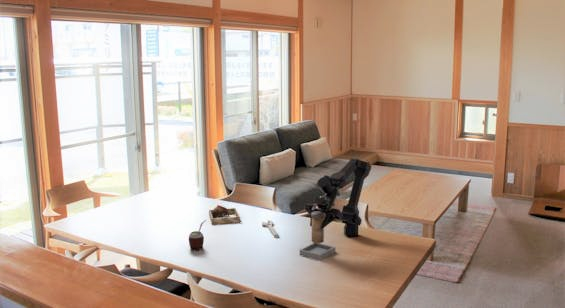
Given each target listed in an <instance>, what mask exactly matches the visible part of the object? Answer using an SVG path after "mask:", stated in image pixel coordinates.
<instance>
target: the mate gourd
mask: <svg viewBox="0 0 565 308" xmlns="http://www.w3.org/2000/svg"><path fill="white" fill-rule="evenodd" d="M206 221H207V219H205V220H204V221H202V222H201V223H200V226H199V230H198V231H197V230H196V231H191V232H190V233H189V235H188V243H189V247H190V248H189V249H190V251H194V250H196V251H197V252H199V251H200V250H201V249H204V247H203V246H204V241H205V240H204V237H205V236H204V234H203V232H201V229H202V227H203V224H204V223H205V222H206Z"/></svg>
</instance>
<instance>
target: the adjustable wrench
mask: <svg viewBox="0 0 565 308" xmlns="http://www.w3.org/2000/svg"><path fill="white" fill-rule="evenodd" d="M261 226H262V227H265V228H267V229H268V230H269V232H270V233H271V235H272V236H274V237H273V238H275V239H278V238H279V237H280V234H279V233H278V232H277V231H276V229H275V228H274V221H273V220H267V222H265V221H262V222H261Z"/></svg>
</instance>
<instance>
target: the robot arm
mask: <svg viewBox="0 0 565 308" xmlns="http://www.w3.org/2000/svg"><path fill="white" fill-rule="evenodd" d="M371 171H372V164H370V162H369V161H364V160H361V159H359V158H353V157H352V158H349V160H348V162H347V163H346V164H345V165H344V166H343V168H341V170H339V171H337V172H334V173H332V174H331V175H330V176H329V175H325V174H324V176H323V177H321V178H318V180H317V183H316V184H317V187H318V188H319V189H320V190H321V192H322V193H324V194H323V195H322V196H321V197H320V196H314V199H313V202H312V203H308V202H307V203H305V204H304V206H303V209H304V210H305V211H306V212H307V213H308V214H309V215H311V213H312V212H315V211H321V212H324V221H323V223H322V226H321V229H323V228H324V229H325V227H327V226H328V225H330V223H332V222H333V221H336V220H338V221H341V222H342V224H344V226H343V235H345V236H346V237H347V238H356V237H357V238H358V237H360V234H359V226H361V224H362V222H363V221H362V218H361V216H360V211H359V207H358V205H359V200H360V197H361V193H362V189H363V186H364V182H365V180H366V178H367V177H368V176H369V175H370V172H371ZM352 174H354V179H353V184H352V187H351V190H350V195H349V197H348V198H349V199H348V203H347V204H346V205H343V207H342V210H340V208H339V209H338V208H333V207H335V201H336V199H337V196H338V197H340V196H341V195H340V192H339V189H344V187H345V185H346V184H347V179H348V178H349V177H350V176H351V175H352ZM314 204H315V205H316V206H315V205H314ZM309 221H310V222H309V227H311V228H312V217H311V216H310V220H309Z"/></svg>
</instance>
